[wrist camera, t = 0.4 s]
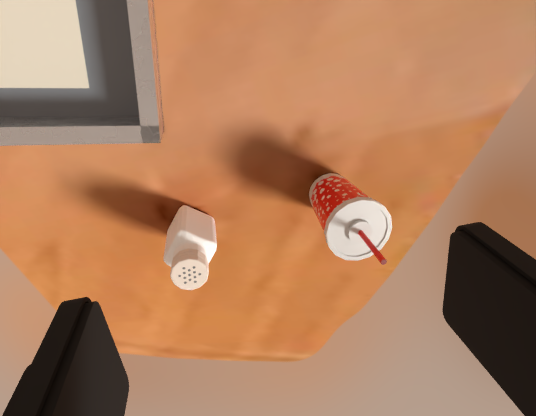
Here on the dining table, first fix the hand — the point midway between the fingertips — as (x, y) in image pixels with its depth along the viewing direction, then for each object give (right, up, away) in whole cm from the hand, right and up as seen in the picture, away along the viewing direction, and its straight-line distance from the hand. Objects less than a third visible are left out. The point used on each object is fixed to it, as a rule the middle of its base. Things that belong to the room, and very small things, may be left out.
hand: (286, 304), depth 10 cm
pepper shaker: (-9, +1, +32) cm, 33 cm away
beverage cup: (+6, +4, +33) cm, 34 cm away
